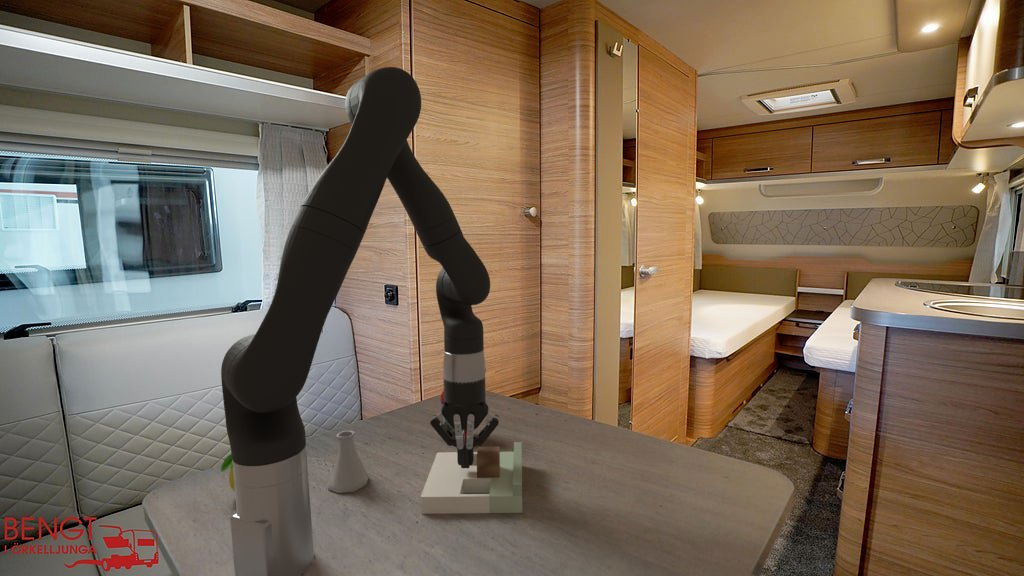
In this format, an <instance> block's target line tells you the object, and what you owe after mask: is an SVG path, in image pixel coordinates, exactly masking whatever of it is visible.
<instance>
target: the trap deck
mask: <svg viewBox="0 0 1024 576" xmlns="http://www.w3.org/2000/svg"><path fill="white" fill-rule="evenodd" d="M522 447H523V446H522V441H514V442H513V451H500V476H499V478H477V451H474V460H473V464H472V465H470V467H469V468H461V465H458V459H457V451H454V452H452V451H451V452H449V451H448V452H437V453H436V455H435V458H434V459H433V463H432V466H431V468H430V471H429V473H428V477H427V479H426V482H425V484H424V487H423V489H422V492H421V494H420V513H421V514H422V515H423V514H424V515H425V514H427V515H430V514H431V515H435V514H436V515H437V514H441V515H442V514H444V515H445V514H447V515H448V514H449V515H450V514H522V513H523V450H522V449H523V448H522Z"/></svg>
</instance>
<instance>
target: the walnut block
mask: <svg viewBox="0 0 1024 576" xmlns="http://www.w3.org/2000/svg"><path fill="white" fill-rule="evenodd" d="M500 448H501V447H500V446H477V451H476V452H477V478H499V476H500V452H501V451H500Z"/></svg>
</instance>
